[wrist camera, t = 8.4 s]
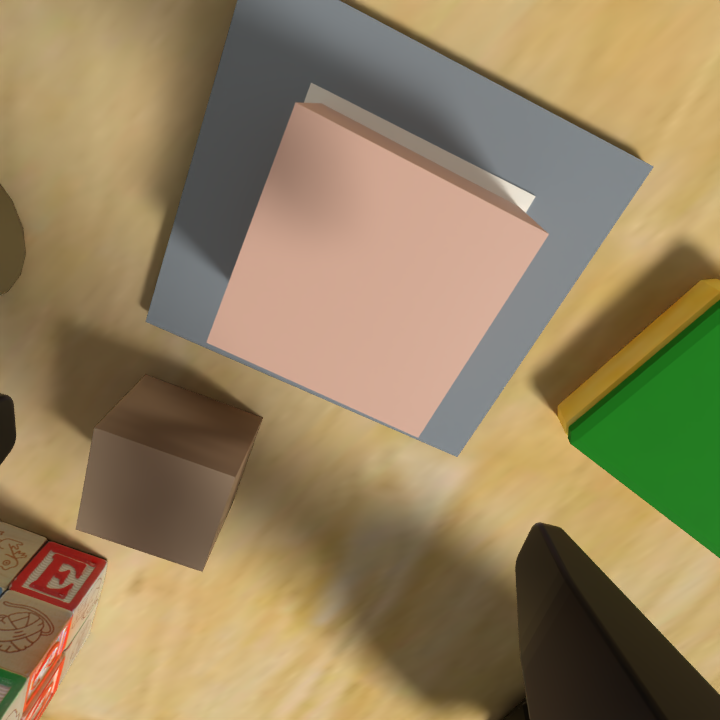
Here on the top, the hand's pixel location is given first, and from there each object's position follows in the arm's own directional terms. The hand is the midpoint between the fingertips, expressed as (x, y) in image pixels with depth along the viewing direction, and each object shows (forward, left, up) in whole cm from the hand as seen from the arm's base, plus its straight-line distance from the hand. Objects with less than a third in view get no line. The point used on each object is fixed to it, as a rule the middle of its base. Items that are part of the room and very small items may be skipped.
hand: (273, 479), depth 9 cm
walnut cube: (+3, +9, -11) cm, 15 cm away
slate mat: (0, -2, -11) cm, 11 cm away
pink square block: (0, -2, -10) cm, 10 cm away
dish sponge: (-17, -1, -12) cm, 21 cm away
